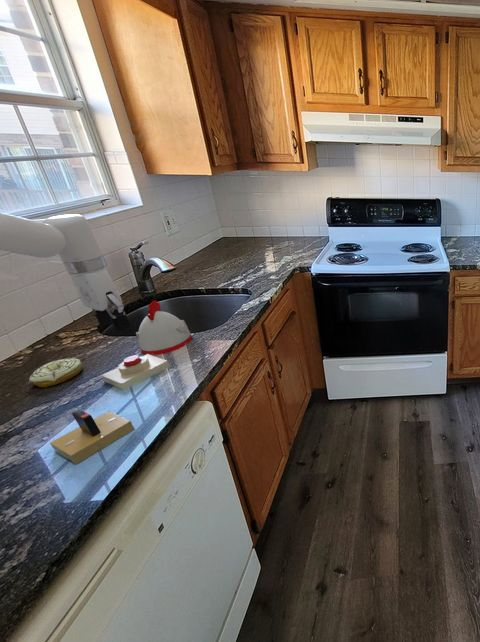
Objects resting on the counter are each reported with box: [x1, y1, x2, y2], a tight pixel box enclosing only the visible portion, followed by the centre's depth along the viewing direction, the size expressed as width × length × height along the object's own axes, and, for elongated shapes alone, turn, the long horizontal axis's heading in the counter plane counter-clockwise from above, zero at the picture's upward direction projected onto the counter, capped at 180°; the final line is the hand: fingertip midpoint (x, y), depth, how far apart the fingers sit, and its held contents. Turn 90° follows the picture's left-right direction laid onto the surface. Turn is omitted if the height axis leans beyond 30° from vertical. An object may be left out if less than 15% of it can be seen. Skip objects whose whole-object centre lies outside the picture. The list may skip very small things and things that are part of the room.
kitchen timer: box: [135, 300, 193, 356], centre depth 118 cm, size 14×14×15 cm
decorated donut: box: [28, 357, 83, 388], centre depth 105 cm, size 10×11×4 cm
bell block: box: [101, 354, 171, 391], centre depth 105 cm, size 12×10×4 cm
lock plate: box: [49, 410, 135, 465], centre depth 82 cm, size 11×9×3 cm
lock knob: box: [71, 408, 101, 437], centre depth 81 cm, size 5×1×5 cm, turn 66°
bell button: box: [122, 354, 141, 367], centre depth 104 cm, size 4×4×2 cm
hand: (115, 326), depth 99 cm, fingers open, 6 cm apart
